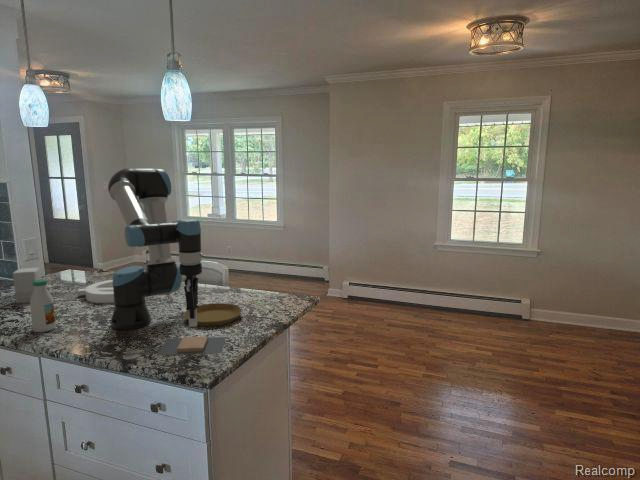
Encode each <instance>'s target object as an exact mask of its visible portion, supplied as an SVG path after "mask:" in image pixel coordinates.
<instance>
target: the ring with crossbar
mask: <svg viewBox="0 0 640 480" xmlns="http://www.w3.org/2000/svg"><path fill="white" fill-rule="evenodd" d="M112 283H113V279H108V280H102V281H99V282H94V283H93V284H92V283H91V284H89V285H88V286H87V287H85V288H78V290H77V291H76V293H77V296H85V299H86V300H87V302H91V303H94V304H95V303H97V304H113V303H114V292H113V285H112Z"/></svg>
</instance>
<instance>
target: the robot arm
mask: <svg viewBox="0 0 640 480" xmlns="http://www.w3.org/2000/svg"><path fill="white" fill-rule="evenodd" d="M107 189H108V193H109V195H110V198H111V199H113V201H115V202H116V204H117V207H118V209H119V211H120V213H121V215H122V217H123V221H125V224H126V227H125V229H124V239H125V243H126V245H127V246H128V247H130V248H132V247H133V248H135V247H139V248H141V247H147V248H148V254H149V261H148V262H147V263H146V268H144V267H143V266H141V265H136V266H135V265H132V266H126V267H124V268H123V267H122V268H121V269H118V270H116V271H115V272H113V275H112V280H113V283H112V285H113V292H114V308H113V312H112V314H111V319H110V325H111V328H112V329H114V330H118V331H128V330H135V329H141V328H143V327H146V326H148V325H149V324H150V323H151V322H152V316H151V314H150V311H149V308H148V306H147V303H146V298H148V297H154V296H159V295H165V294H171V293H176V292H177V291H178V290H180V288H181V285H182V280H183V276H185V279H184V285H185V286H184V287H183V290H184V295H185V296H184V297H185V303H186V308H185V310H186V311H187V310H188V314H189V321H188V327H190V328H191V327H198V325H197V307H199V306H200V305H199V302H198V301H199V299H198V298H199V297H198V296H199V277H197V276H198V275H201V274H202V273H203V265H202V264H203V263H202V257H203V256H204V254H203V253H202V240H201V239H202V235H201V233H202V232H201V230H202V228H201V223H200V221H199V220H198V219H196V218H195V219H194V218H183V219H180V220H178V221H176V220H175V221H171V222H168V219H167V213H166V211H167V210H166V205H165V203H166V202H167V201H168V199H169V197H168V196H170V195H171V194H172V183H171V178H170V176H169V174H168V173H167V171H166V170H164V169H163V168H156V167H155V168H153V167H152V168H130V167H129V168H123V169H121V170H118V171H117V172H115V173H114V174H113V175H112V176H111V178H110V180H109V182H108V186H107ZM141 204H142V205H143V206H142V205H141ZM170 244H178V260H179V264H176V260H175V259H173V258H172V252H171V245H170Z"/></svg>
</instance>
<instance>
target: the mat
mask: <svg viewBox="0 0 640 480" xmlns="http://www.w3.org/2000/svg"><path fill="white" fill-rule="evenodd" d="M182 339H183V337H180V338H177V337H176V338H166V340H165V341H164V342H163V344H162V346H161V347H160V349H159V350H158V352H157V354H156V356H174V355H175V356H177V355H178V356H179V355H207V354H209V355H211V354H222V352H223V349H224V347H225V344H226V339H227V336H218V337H217V336H216V337H213V336H212V337H208V340H207V342H206V345H205V347H204V350H203V351H190V352H178V351H177V347H178V346H179V344H180V342H181V340H182Z"/></svg>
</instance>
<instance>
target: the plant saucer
mask: <svg viewBox="0 0 640 480" xmlns="http://www.w3.org/2000/svg"><path fill="white" fill-rule="evenodd" d="M242 311H243V310H242V308H241V307H240V306H238V305H235V304H231V303H222V302H221V303H219V302H218V303H217V302H216V303H207V304H201V305H199V307H197V326H200V327H215V326H216V327H217V326H222V325H226V324H229V323H232V322H234V321H236V320H237V319H238V318H239V317H240V316H241V314H242ZM184 317H185V319H186V320H187V321H188V322H189V314H188V310H186V311H185V312H184Z"/></svg>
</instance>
